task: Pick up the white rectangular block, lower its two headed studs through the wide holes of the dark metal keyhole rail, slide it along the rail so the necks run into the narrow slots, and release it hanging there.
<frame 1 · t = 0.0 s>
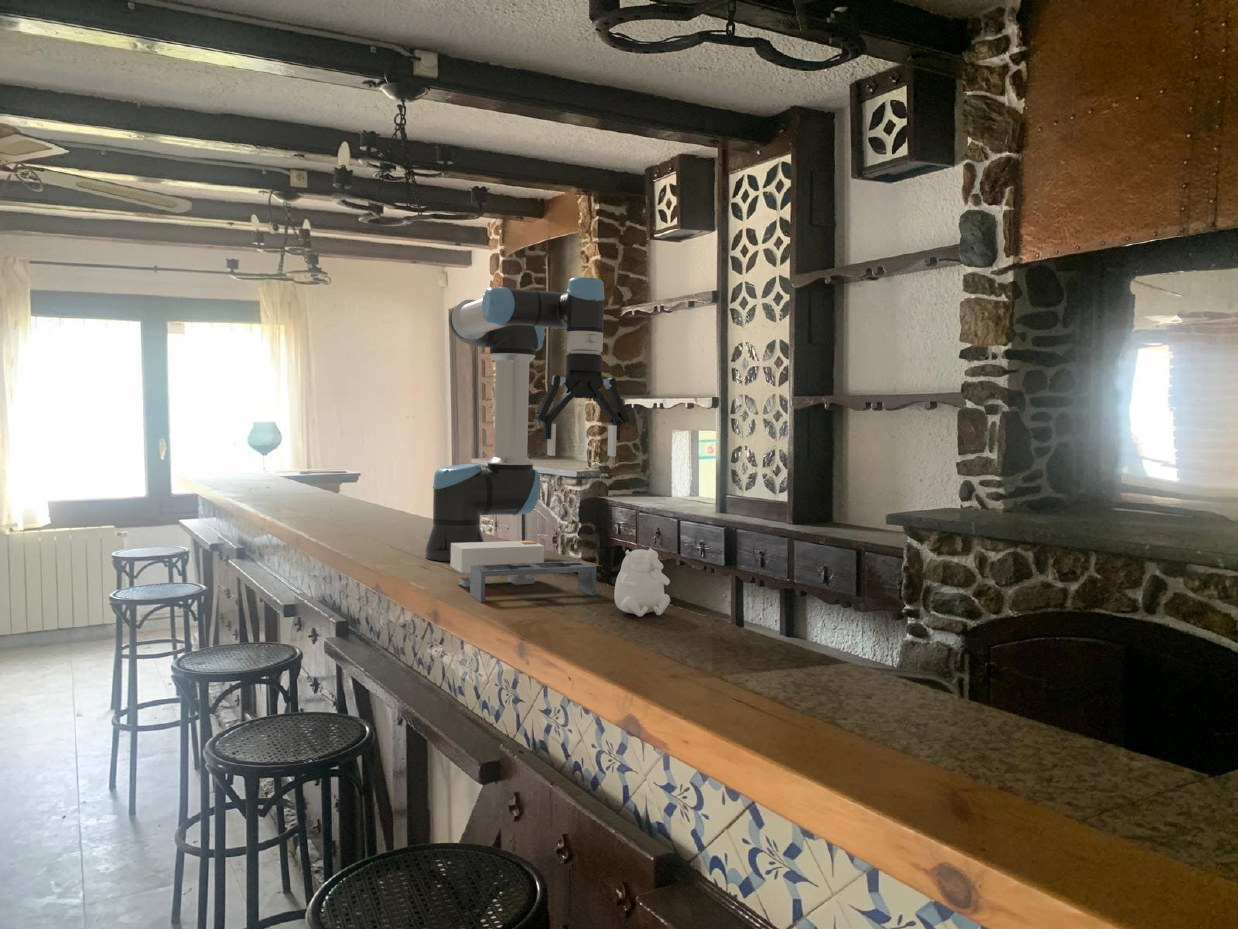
hand: (581, 456, 193), 28 cm above the countertop, fingers open, 13 cm apart
figurine: (639, 614, 171), on the countertop
keyhole rail: (526, 596, 185), on the countertop
white rectangular block: (496, 583, 198), on the countertop
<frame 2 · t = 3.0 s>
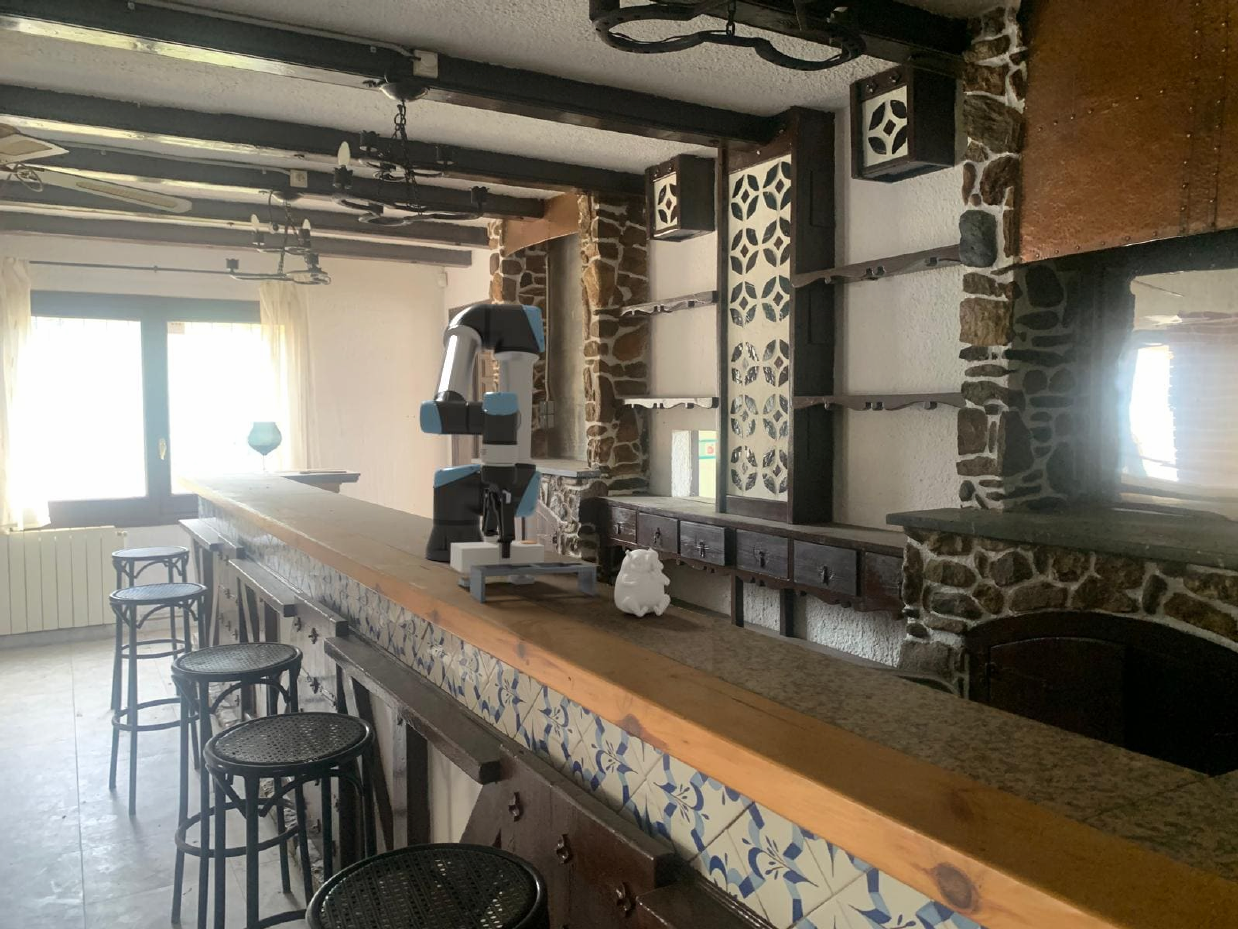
hand: (497, 569, 198), 3 cm above the countertop, fingers closed on white rectangular block, 9 cm apart
white rectangular block: (496, 583, 198), on the countertop, touching gripper
everything else where it was.
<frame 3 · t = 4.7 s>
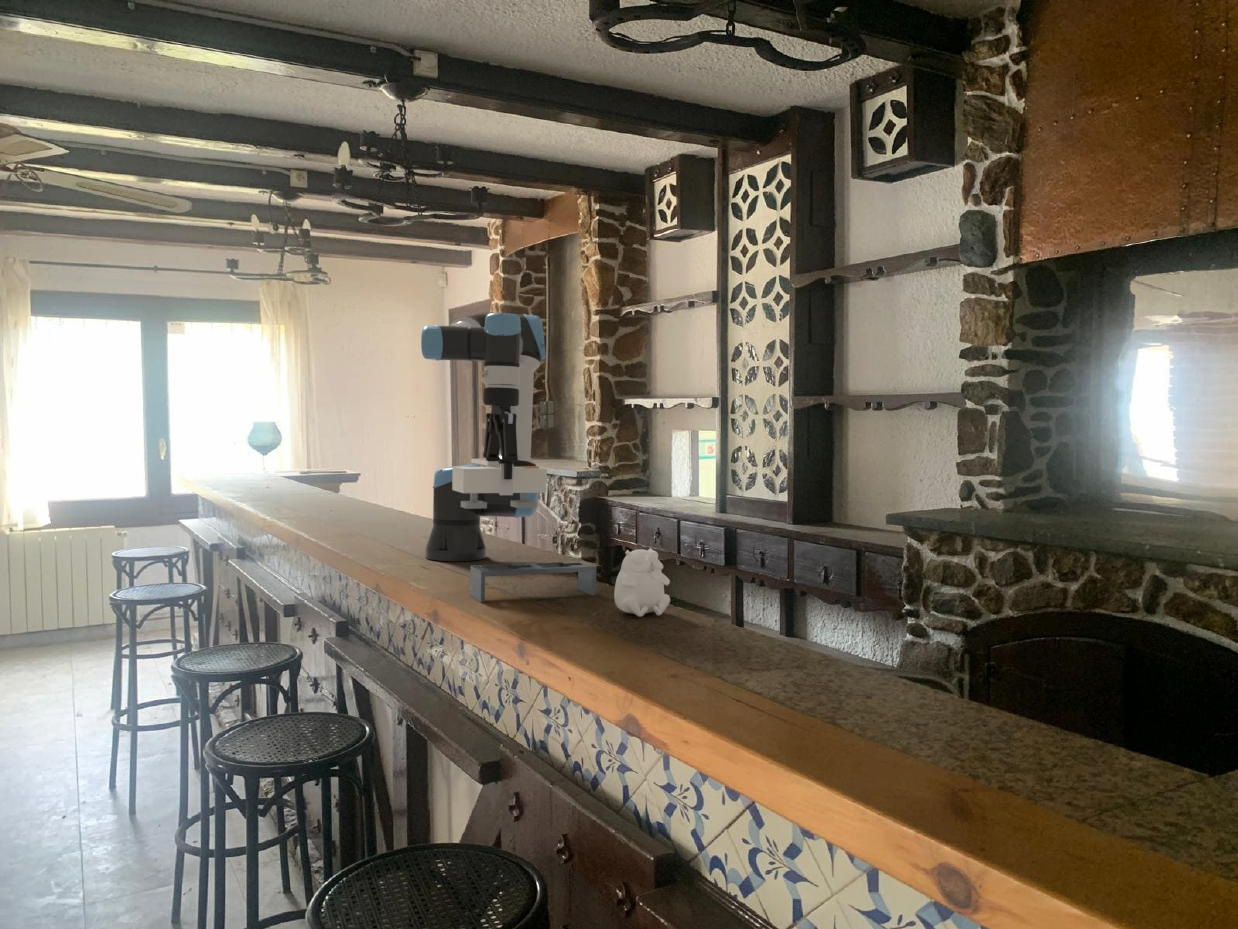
hand: (499, 493, 197), 19 cm above the countertop, fingers closed on white rectangular block, 9 cm apart
white rectangular block: (498, 507, 197), point 16 cm above the countertop, touching gripper
everything else where it was.
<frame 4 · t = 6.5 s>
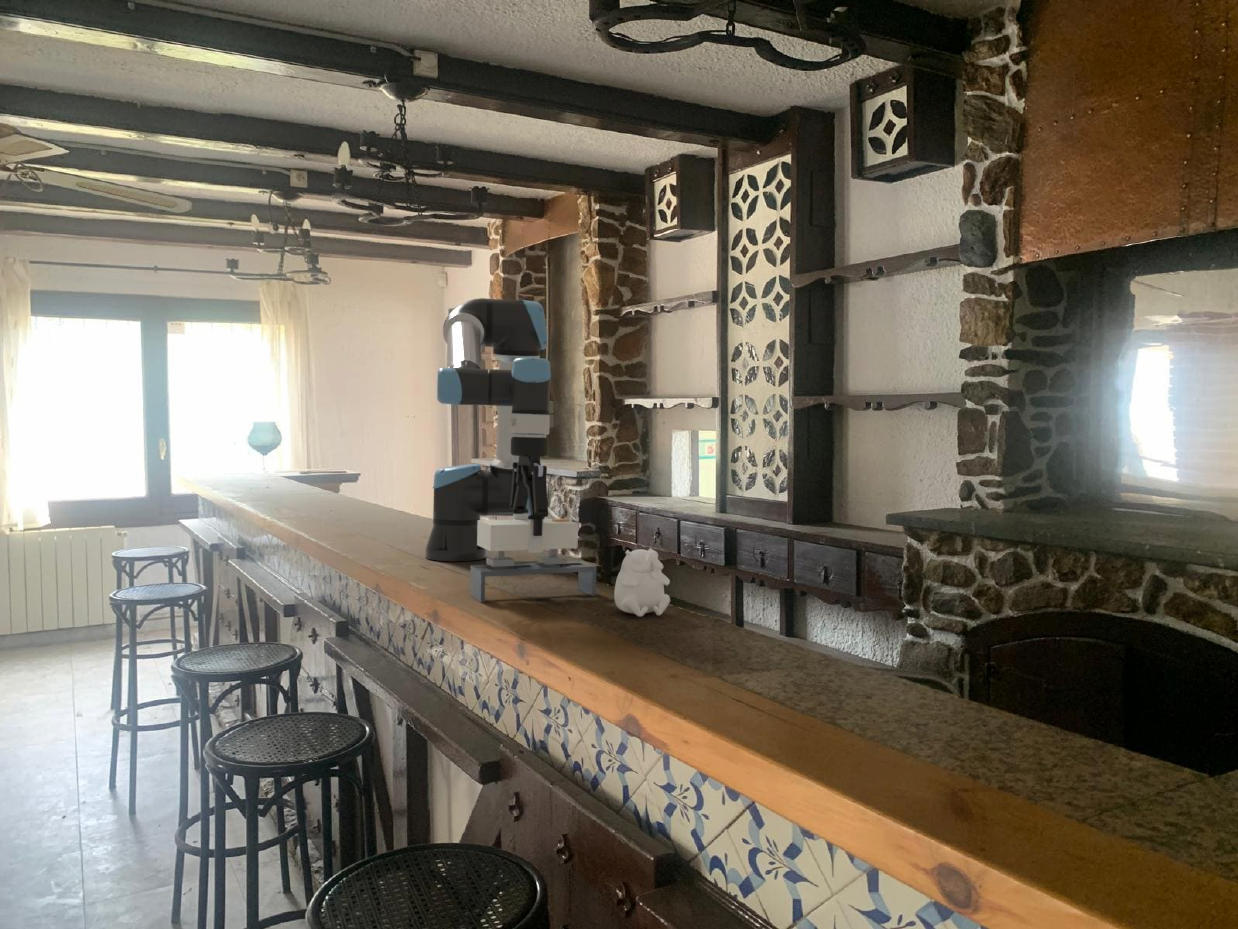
hand: (527, 548, 185), 9 cm above the countertop, fingers closed on white rectangular block, 9 cm apart
white rectangular block: (526, 563, 185), point 7 cm above the countertop, touching gripper
everything else where it was.
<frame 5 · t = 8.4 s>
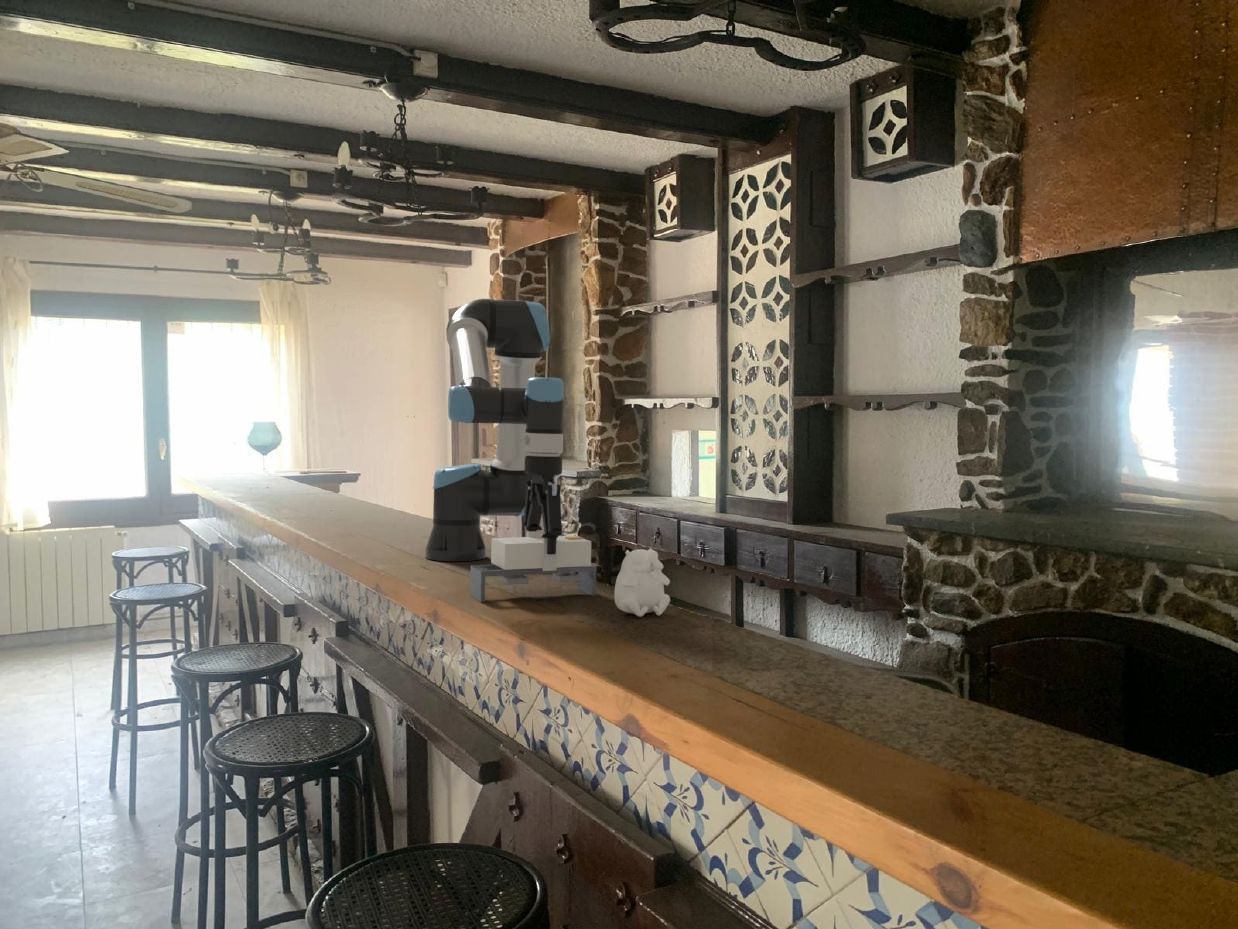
hand: (541, 566, 186), 6 cm above the countertop, fingers closed on white rectangular block, 9 cm apart
white rectangular block: (540, 581, 186), point 3 cm above the countertop, touching gripper
everything else where it was.
when the fingers open (6 cm above the countertop, at t = 9.9 s): white rectangular block stays where it is, resting on keyhole rail.
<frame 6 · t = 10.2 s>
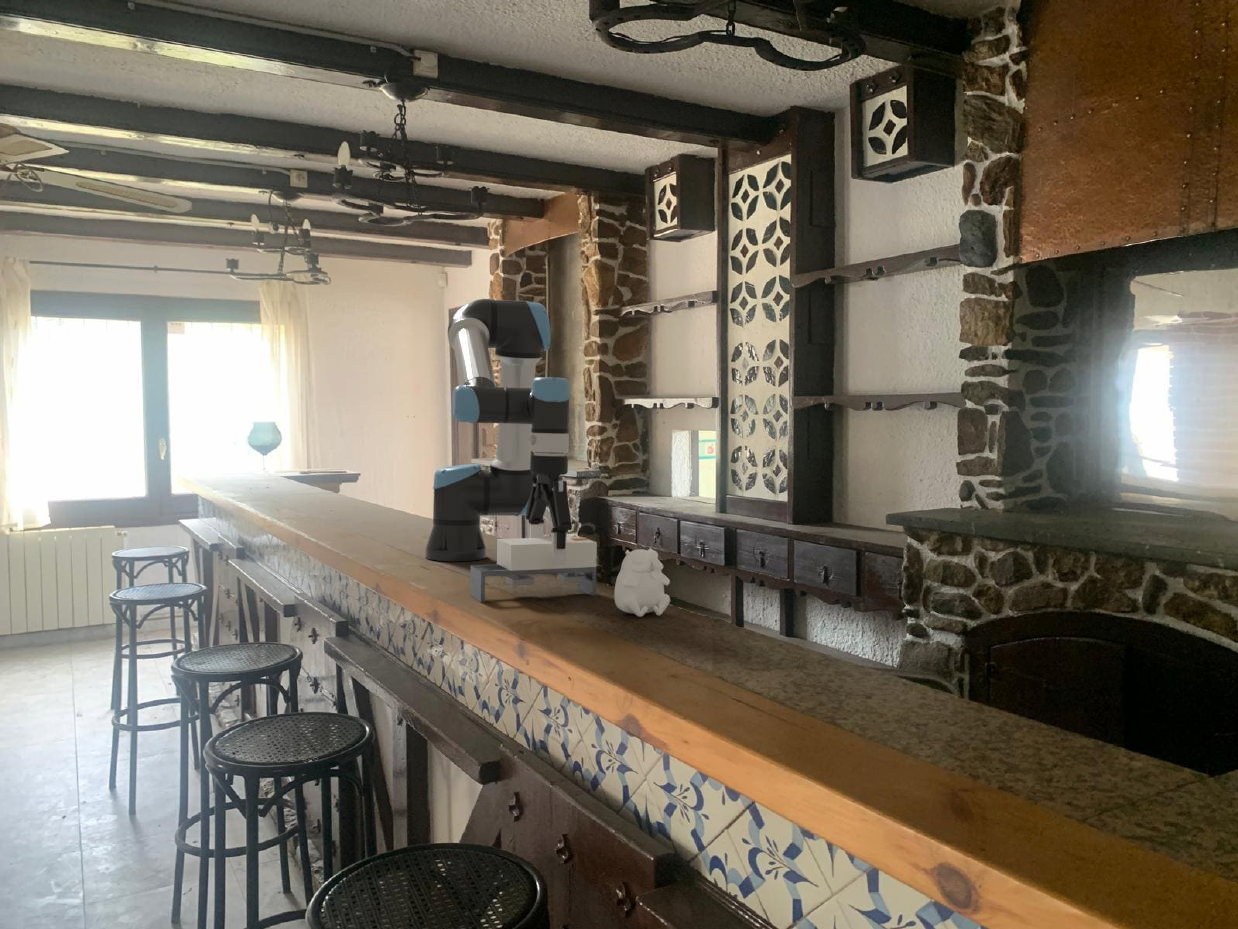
hand: (546, 560, 187), 7 cm above the countertop, fingers open, 13 cm apart
white rectangular block: (546, 582, 187), point 3 cm above the countertop, touching keyhole rail
everything else where it was.
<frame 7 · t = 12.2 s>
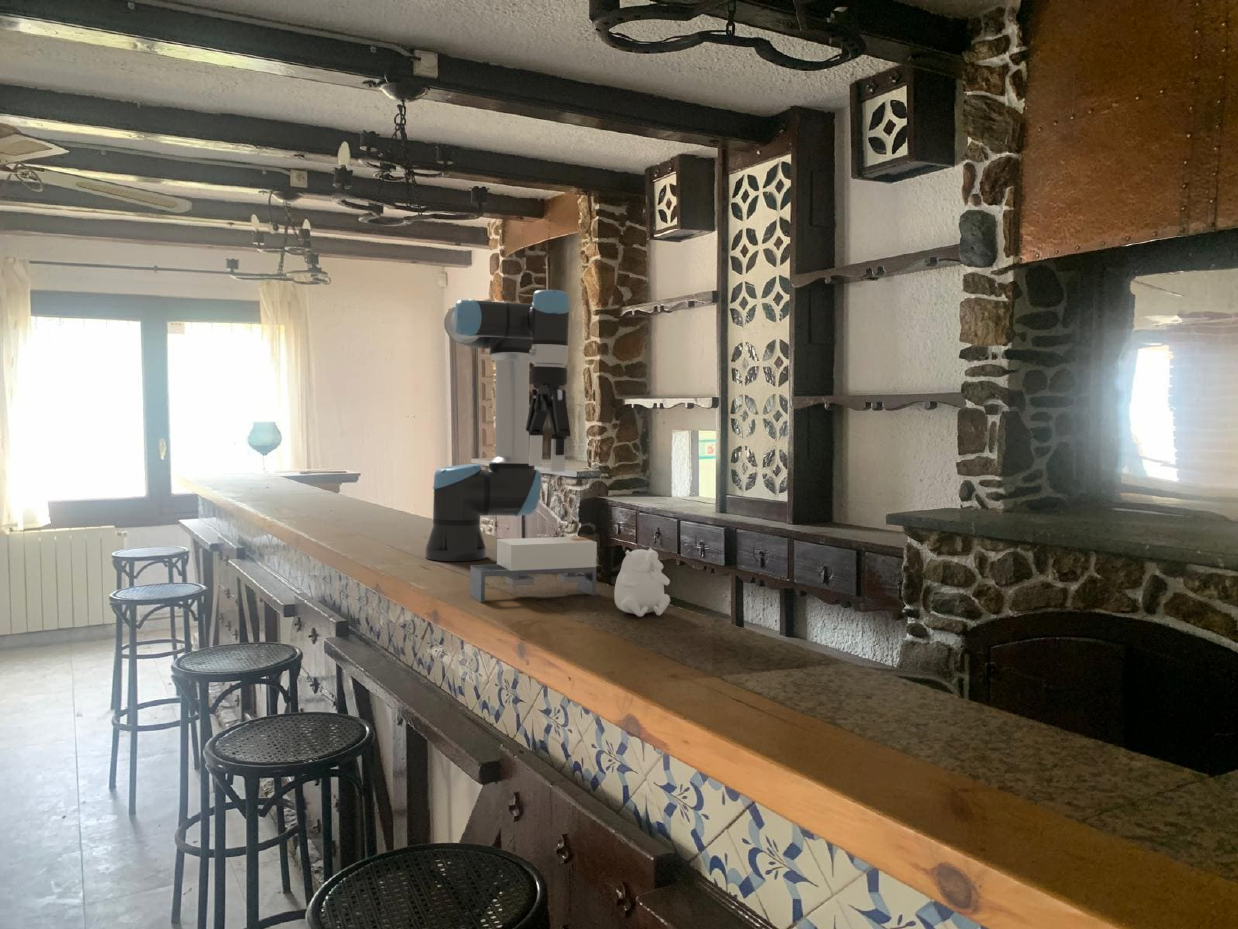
hand: (546, 468, 193), 25 cm above the countertop, fingers open, 13 cm apart
nothing on the countertop moved.
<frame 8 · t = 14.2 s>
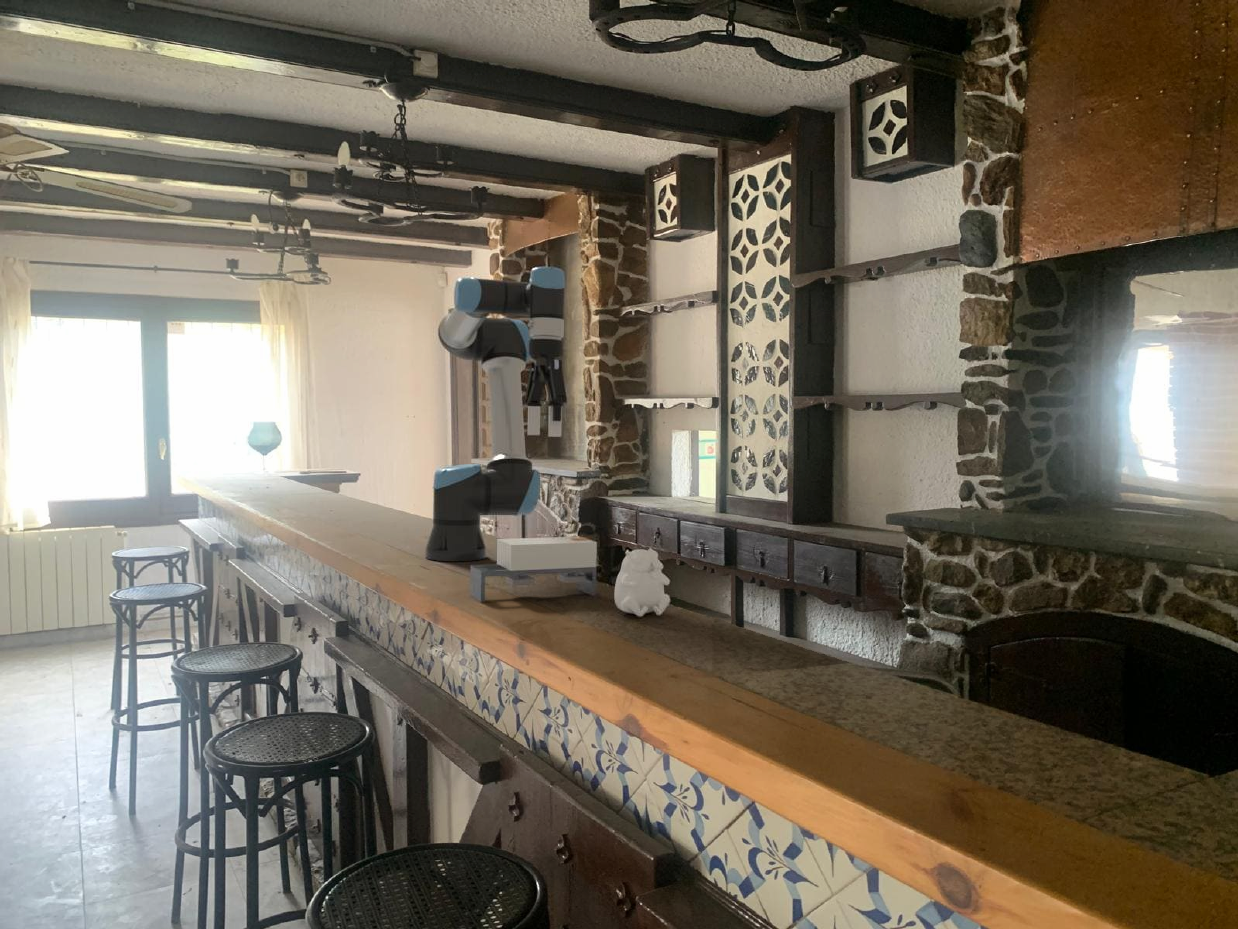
hand: (543, 436, 204), 32 cm above the countertop, fingers open, 13 cm apart
nothing on the countertop moved.
at the end: white rectangular block 0.1 cm from the target spot on the keyhole rail, point 2.6 cm above the keyhole rail's base; white rectangular block tilted 0°; the gripper is holding nothing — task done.
